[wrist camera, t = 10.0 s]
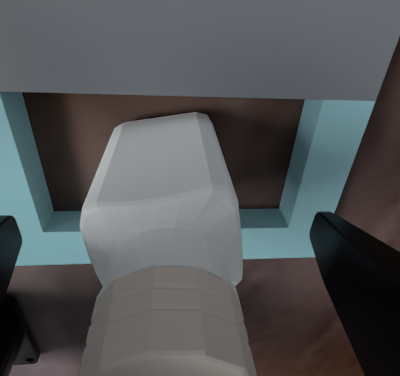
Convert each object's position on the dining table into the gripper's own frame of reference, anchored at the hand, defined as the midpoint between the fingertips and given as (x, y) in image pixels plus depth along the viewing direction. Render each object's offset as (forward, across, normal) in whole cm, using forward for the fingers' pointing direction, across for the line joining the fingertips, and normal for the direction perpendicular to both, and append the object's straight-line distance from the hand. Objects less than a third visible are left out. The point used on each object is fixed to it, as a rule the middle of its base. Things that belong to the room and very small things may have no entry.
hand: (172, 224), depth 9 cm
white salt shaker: (+5, 0, 0) cm, 5 cm away
